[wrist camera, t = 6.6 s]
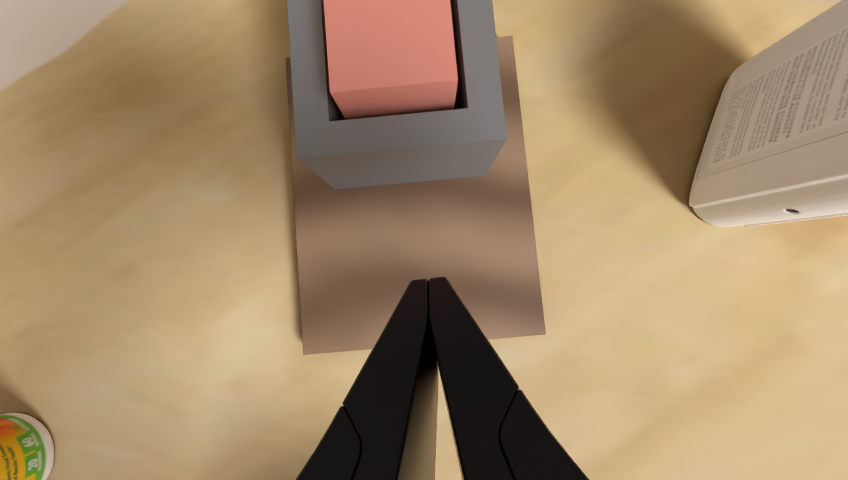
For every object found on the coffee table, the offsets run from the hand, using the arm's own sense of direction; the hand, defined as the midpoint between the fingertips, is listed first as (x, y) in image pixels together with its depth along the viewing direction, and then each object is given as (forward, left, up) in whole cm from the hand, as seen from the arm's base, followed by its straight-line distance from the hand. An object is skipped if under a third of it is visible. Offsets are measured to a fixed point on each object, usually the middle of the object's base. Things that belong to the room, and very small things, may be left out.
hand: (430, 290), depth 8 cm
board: (+2, +5, -13) cm, 14 cm away
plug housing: (+4, +9, -12) cm, 16 cm away
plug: (+4, +9, -11) cm, 15 cm away
